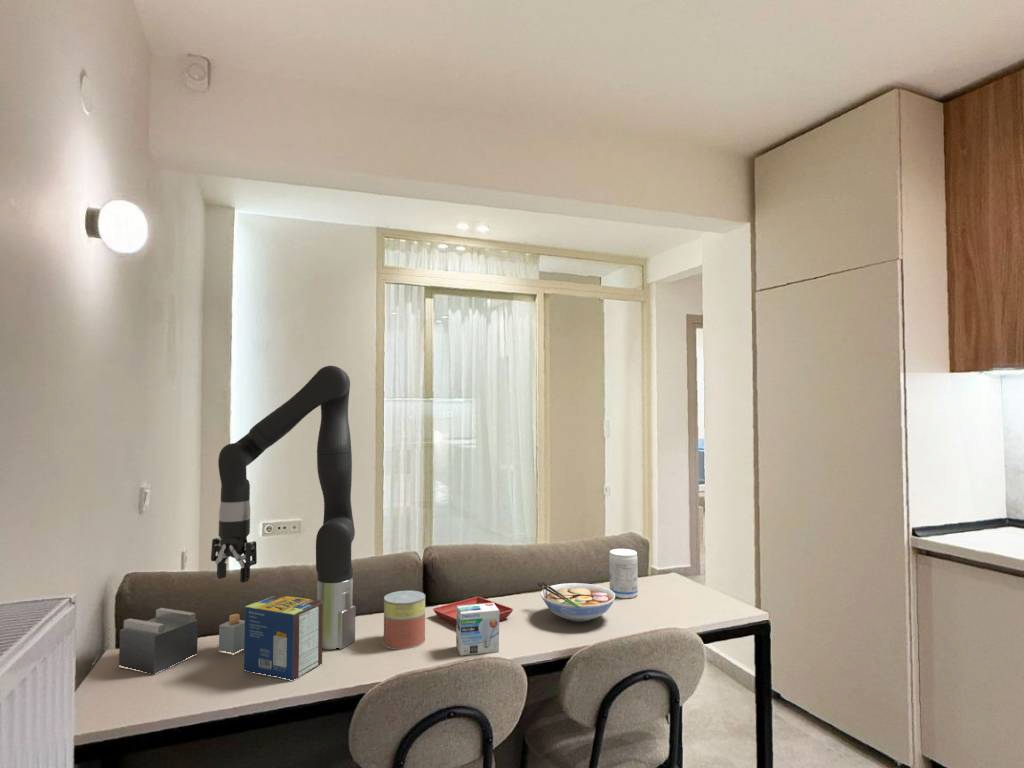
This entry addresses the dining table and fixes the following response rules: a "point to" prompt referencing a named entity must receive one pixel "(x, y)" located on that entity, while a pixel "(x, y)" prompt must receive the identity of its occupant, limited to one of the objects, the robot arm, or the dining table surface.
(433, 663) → the dining table surface
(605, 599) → the ramen bowl
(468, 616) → the light bulb box
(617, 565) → the supplement tub
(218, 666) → the dining table surface
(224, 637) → the block
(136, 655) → the grey ridged block
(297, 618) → the protein box
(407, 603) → the canned food
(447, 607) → the plant saucer
